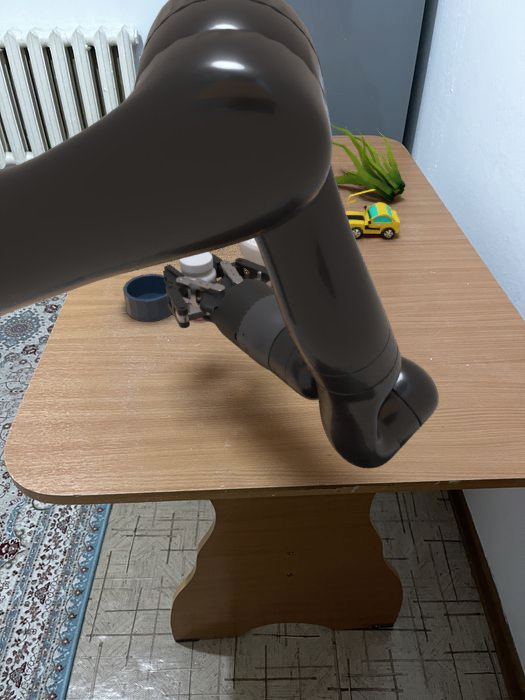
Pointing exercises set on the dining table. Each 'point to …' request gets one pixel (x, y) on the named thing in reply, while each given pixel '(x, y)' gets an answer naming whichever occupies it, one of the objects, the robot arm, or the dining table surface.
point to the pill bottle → (198, 271)
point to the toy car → (373, 219)
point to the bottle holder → (147, 298)
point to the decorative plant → (372, 169)
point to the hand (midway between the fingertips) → (185, 265)
